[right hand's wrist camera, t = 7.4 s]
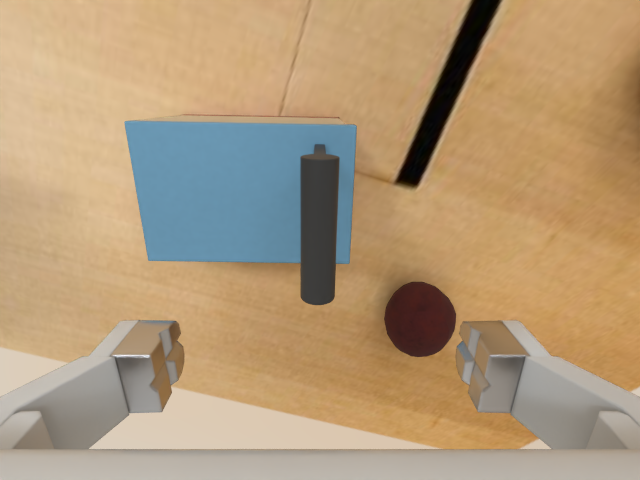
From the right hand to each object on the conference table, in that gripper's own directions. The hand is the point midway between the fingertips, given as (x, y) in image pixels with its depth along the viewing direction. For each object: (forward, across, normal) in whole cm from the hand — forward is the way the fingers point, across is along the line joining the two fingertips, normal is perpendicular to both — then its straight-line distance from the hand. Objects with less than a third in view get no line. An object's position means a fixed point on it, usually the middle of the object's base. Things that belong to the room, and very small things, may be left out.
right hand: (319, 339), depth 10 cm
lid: (+17, -5, 0) cm, 18 cm away
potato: (+27, +10, -15) cm, 33 cm away
